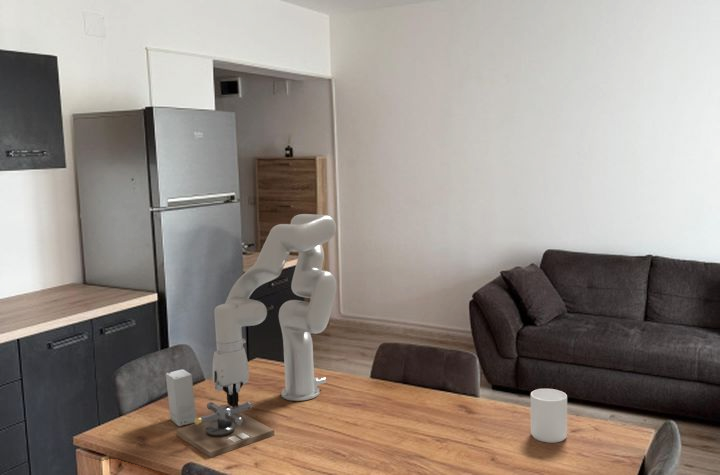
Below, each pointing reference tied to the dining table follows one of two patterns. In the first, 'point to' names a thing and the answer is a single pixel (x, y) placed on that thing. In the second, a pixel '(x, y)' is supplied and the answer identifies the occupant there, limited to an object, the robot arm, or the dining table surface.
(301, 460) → the dining table surface
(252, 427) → the board
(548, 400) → the mug
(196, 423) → the capstan
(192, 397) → the skincare box
